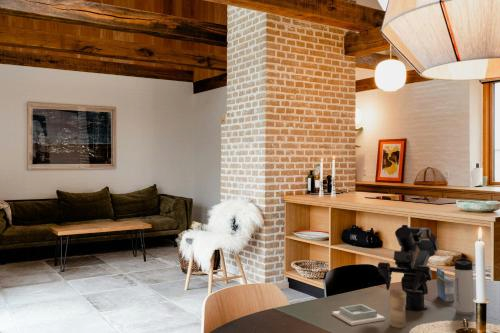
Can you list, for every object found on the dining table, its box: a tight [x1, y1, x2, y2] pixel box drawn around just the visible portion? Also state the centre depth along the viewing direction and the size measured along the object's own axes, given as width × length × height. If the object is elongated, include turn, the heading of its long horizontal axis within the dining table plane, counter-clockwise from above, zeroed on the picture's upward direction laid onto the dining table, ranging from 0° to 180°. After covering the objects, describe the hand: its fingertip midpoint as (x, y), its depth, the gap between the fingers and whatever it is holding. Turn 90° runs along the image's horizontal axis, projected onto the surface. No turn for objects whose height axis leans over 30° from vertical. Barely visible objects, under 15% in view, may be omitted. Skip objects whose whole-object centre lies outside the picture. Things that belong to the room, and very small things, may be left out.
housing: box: [331, 303, 386, 326], centre depth 179 cm, size 14×14×3 cm
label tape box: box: [436, 267, 455, 303], centre depth 199 cm, size 9×4×12 cm, turn 179°
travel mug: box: [454, 257, 475, 316], centre depth 180 cm, size 6×7×20 cm
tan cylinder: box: [389, 289, 407, 329], centre depth 168 cm, size 5×5×12 cm
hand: (400, 290), depth 171 cm, fingers open, 9 cm apart
